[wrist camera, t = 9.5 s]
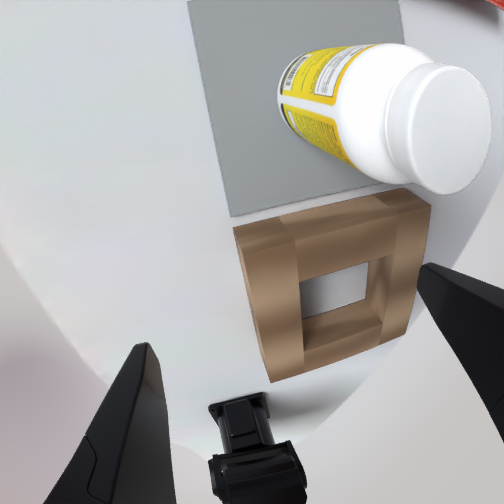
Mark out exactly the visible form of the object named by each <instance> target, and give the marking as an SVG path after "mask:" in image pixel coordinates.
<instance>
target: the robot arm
mask: <svg viewBox="0 0 504 504" xmlns="http://www.w3.org/2000/svg"><path fill="white" fill-rule="evenodd" d="M417 290H418V292H419V294H420V296H421V297H422V299H423V301H424V303H425V305H426V306H427V308H428V310H429V312H430V314H431V316H432V317H433V319H434V321H435V323H436V324H437V326H438V328H439V329H440V331H441V332H442V334H443V335H444V337H445V339H446V340H447V342H448V343H449V345H450V346H451V348H452V349H453V351H454V353H455V354H456V356H457V357H458V359H459V361H460V362H461V364H462V366H463V367H464V369H465V371H466V372H467V374H468V376H469V378H470V379H471V381H472V383H473V385H474V386H475V388H476V390H477V392H478V393H479V395H480V397H481V399H482V401H483V402H484V404H485V406H486V408H487V410H488V412H489V414H490V416H491V418H492V420H493V422H494V424H495V426H496V428H497V430H498V432H499V434H500V436H501V438H502V440H503V442H504V289H501V288H499V287H496V286H493V285H491V284H488V283H486V282H483V281H481V280H478V279H475V278H472V277H470V276H467V275H465V274H462V273H459V272H457V271H454V270H451V269H448V268H446V267H443V266H440V265H437V264H435V263H431V262H430V263H427V264H424V265H422V266H421V267H420V270H419V275H418V280H417ZM208 410H209V412H210V414H211V415H212V417H213V419H214V420H215V422H216V423H217V425H218V427H219V429H220V434H221V439H222V443H223V448H224V452H225V454H220V455H217V454H215V455H213V459H211V460H209V461H208V464H209V469H210V475H211V483H212V490H213V494H214V495H215V496H217V497H219V499H220V500H221V501H222V503H223V504H306V500H307V494H306V492H305V489H306V488H307V480H306V475H305V472H304V469H303V466H302V464H301V462H300V460H299V458H298V456H297V454H296V452H295V450H294V448H293V445H292V443H291V441H290V440H288V441H285V442H283V443H278V444H275V442H274V439H273V435H272V432H271V429H270V426H269V423H268V420H267V419H269V418H270V416H269V412H268V408H267V405H266V401H265V397H264V394H263V393H259V394H255V395H251V396H247V397H244V398H240V399H236V400H232V401H227V402H223V403H219V404H215V405H210V406H209V407H208ZM85 434H86V436H84V437H83V439H82V441H81V443H80V445H79V447H78V448H77V450H76V452H75V454H74V455H73V457H72V459H71V461H70V462H69V464H68V466H67V467H66V469H65V470H64V472H63V474H62V475H61V477H60V478H59V480H58V481H57V483H56V484H55V486H54V488H53V489H52V491H51V492H50V494H49V495H48V497H47V499H46V500H45V501H44V503H43V504H176V496H175V489H174V480H173V471H172V462H171V450H170V438H169V425H168V412H167V405H166V399H165V393H164V387H163V381H162V375H161V368H160V363H159V360H158V358H157V356H156V355H155V353H154V351H153V349H152V347H151V345H150V344H149V343H148V342H144V343H140V344H136V345H135V346H134V347H133V349H132V350H131V352H130V354H129V356H128V357H127V359H126V361H125V362H124V364H123V366H122V368H121V369H120V371H119V373H118V375H117V376H116V378H115V380H114V382H113V383H112V385H111V387H110V389H109V391H108V393H107V394H106V396H105V398H104V400H103V402H102V403H101V405H100V407H99V409H98V411H97V413H96V414H95V416H94V418H93V420H92V422H91V424H90V426H89V427H88V429H87V431H86V433H85ZM222 471H223V473H222Z"/></svg>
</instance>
